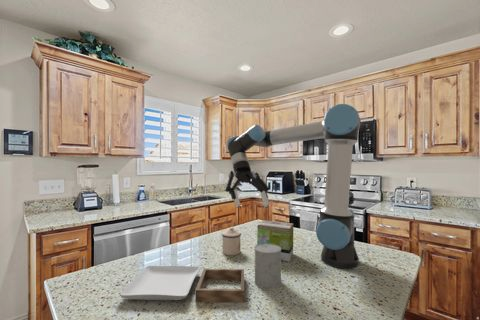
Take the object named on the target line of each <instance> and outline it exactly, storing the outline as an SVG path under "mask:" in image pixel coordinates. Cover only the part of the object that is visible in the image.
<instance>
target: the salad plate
mask: <svg viewBox="0 0 480 320" xmlns="http://www.w3.org/2000/svg"><path fill="white" fill-rule="evenodd" d="M200 270H201V267H200V266H192V265H147V266H146V267H145V268H143V269H142V271H141V272H139V274H137V275H136V276H135V278H134V279H133V280H132V281H131V282H129V284H127V286H125V288H124V289H122V291H120V293H119V296H120V297H121V298H123V299H126V300H140V301H141V300H142V301H175V300H176V301H179V300H180V301H181V300H184V299H186V298H187V297H188V295H189V293H190V291H191V289H192V285H193V283H194V281H195V279H196V278H197V275H198V274H199V272H200Z"/></svg>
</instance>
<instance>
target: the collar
mask: <svg viewBox="0 0 480 320" xmlns="http://www.w3.org/2000/svg"><path fill="white" fill-rule="evenodd" d="M207 280H214V281H216V280H223V281H224V280H225V281H227V280H228V281H240V288H204V286H205V284H206V281H207ZM196 302H197V303H199V302H200V303H203V302H204V303H206V302H207V303H245V269H244V268H203V270H202V273H201V275H200V278H199V280H198V283H197V285H196V288H195V303H196Z"/></svg>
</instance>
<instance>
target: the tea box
mask: <svg viewBox="0 0 480 320" xmlns="http://www.w3.org/2000/svg"><path fill="white" fill-rule="evenodd" d="M256 240H257V243H256V245H258V244H264V243H268V244H275V245H278V246H280V247H281V261H282V262H283V261H284V262H290V261H291V258H292V256H293V255H294V223H291V222H290V223H289V222H284V221H283V222H282V221H275V220H274V221H273V220H265V219H263V220H262V221H261V222H260V223H259V224H257V239H256Z"/></svg>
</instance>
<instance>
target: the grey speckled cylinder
mask: <svg viewBox="0 0 480 320" xmlns="http://www.w3.org/2000/svg"><path fill="white" fill-rule="evenodd" d="M254 284H255V285H256V286H257V287H258V288H260V289H264V290H276V289H278V288H280V287H281V286H282V260H281V247H280V246H278V245H275V244H268V243H264V244H258V245H257V244H256V245H255V246H254Z"/></svg>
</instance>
